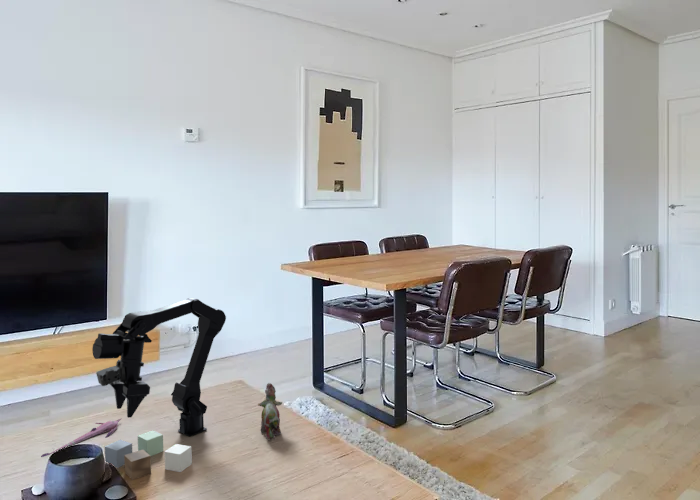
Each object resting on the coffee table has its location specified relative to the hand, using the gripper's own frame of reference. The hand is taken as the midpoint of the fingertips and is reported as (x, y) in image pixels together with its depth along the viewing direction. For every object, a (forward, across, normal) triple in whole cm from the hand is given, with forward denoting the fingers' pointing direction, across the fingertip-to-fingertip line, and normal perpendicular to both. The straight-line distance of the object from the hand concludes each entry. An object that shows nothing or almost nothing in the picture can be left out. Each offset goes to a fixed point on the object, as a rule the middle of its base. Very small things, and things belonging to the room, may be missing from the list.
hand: (124, 412), depth 158 cm
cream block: (+11, +17, +11) cm, 23 cm away
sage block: (+11, +3, +8) cm, 14 cm away
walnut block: (+12, +13, +1) cm, 18 cm away
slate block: (+13, +4, -1) cm, 13 cm away
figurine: (+6, +14, +40) cm, 43 cm away
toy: (+13, -18, -4) cm, 23 cm away
